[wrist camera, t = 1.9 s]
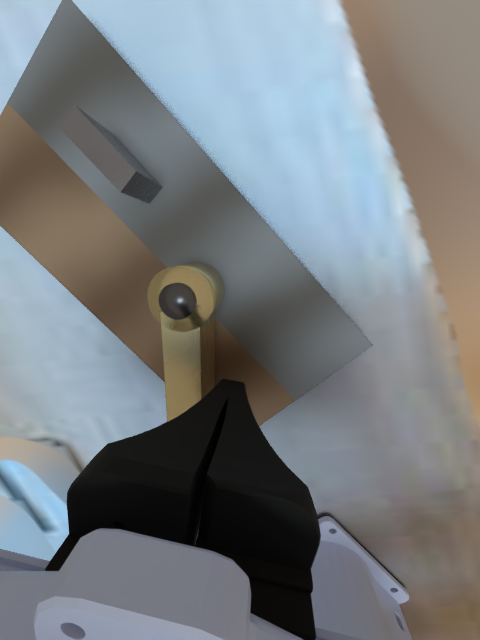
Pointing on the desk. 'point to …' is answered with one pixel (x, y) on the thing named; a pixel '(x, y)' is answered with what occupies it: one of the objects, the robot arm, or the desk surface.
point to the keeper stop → (110, 156)
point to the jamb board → (156, 224)
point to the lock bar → (186, 331)
